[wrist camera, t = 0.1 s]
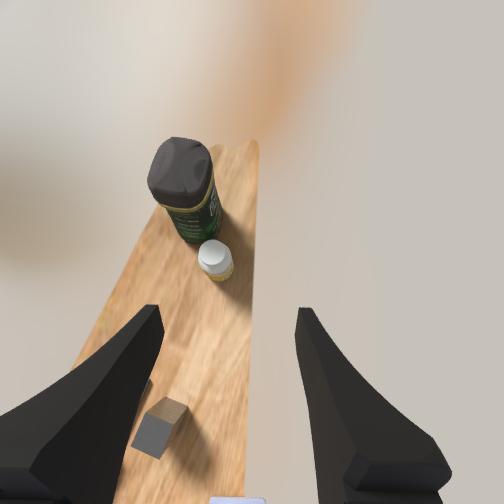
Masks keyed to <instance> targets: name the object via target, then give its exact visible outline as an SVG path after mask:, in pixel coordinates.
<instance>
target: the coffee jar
mask: <svg viewBox="0 0 504 504" xmlns="http://www.w3.org/2000/svg"><path fill="white" fill-rule="evenodd" d="M147 182H148V186H149V189H150V191H151V193H152V195H153V197H154V199H155V200H156V201H157V202H158V203H159V204H160V205H161V206H163V207H164V208H166V210H167V212H168V214H169V215H170V217H171V219H172V221H173V223H174V225H175V227H176V229H177V231H178V233H179V235H180V236H181V238H182V239H184V240H185V241H188V242H191V243H196V244H203V243H204V242H206V241H208V240H214V239H215V238H216V236H217V233H218V231H219V228H220V224H221V220H222V207H221V203H220V200H219V197H218V194H217V190H216V186H215V181H214V171H213V164H212V161H211V156H210V153H209V151H208V150H207V148H206V147H205V146H204V145H203V144H201V143H200V142H199V141H195V140H192V139H187V138H180V137H171V138H170V139H168V140H166V141H165V142H164V143H163V144H162V145H161V146H160V147H159V149H158V150H157V153H156V155H155V157H154V159H153V162H152V165H151V168H150V171H149V174H148V178H147Z"/></svg>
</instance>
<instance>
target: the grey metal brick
mask: <svg viewBox="0 0 504 504" xmlns="http://www.w3.org/2000/svg"><path fill="white" fill-rule="evenodd" d="M187 408H188V406H186V405H184V404H181V403H179V402H177V401H174V400H172V399H170V398H168V397H164V398H163V399H161V400H160V401H159V402H158V403H157V404H155V405H154V406H153V407H152V408H150V409H149V410H148V411H147V412H146V413H145V415H144V417H143V419H142V422H141V424H140V426H139V428H138V431H137V433H136V435H135V438H134V440H133V442H132V444H131V447H133V448H135V449H138V450H140V451H142V452H144V453H146V454H148V455H151V456H153V457H155V458H157V459H160V458H161V457H162V455H163V454H164V452H165V451H166V449H167V448H168V446H169V445H170V443H171V442H172V441H173V439H174V438H175V436H176V435H177V433H178V430H179V428H180V425H181V423H182V420H183V418H184V415H185V413H186V410H187Z"/></svg>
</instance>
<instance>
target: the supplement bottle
mask: <svg viewBox="0 0 504 504" xmlns="http://www.w3.org/2000/svg"><path fill="white" fill-rule="evenodd" d="M198 262H199V265H200V267H201V268H202V269H203V271H204V272H205V273H206V275H207V276H208V277H209V278H210V279H212V280H214V281H224V280H226V279H228V278H229V277H230V276H231V275H232V273H233V270H234V264H233V260H232V255H231V252H230V250H229V248H228V247H227V246H226V245H225V244H223V243H221V242H220V241H217V240H208V241H206V242H204V243H203V244H202V245H201V247H200V249H199V255H198Z"/></svg>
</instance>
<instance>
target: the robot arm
mask: <svg viewBox="0 0 504 504" xmlns="http://www.w3.org/2000/svg"><path fill="white" fill-rule="evenodd" d="M164 333H165V332H164V327H163V323H162V319H161V315H160V311H159V307H158V305H145V306H144V307H143V308H142V309H141V310H140V311H139V312H138V313H137V314H136V315H135V316H134V317H133V318H132V319H131V320H130V321H129V322H128V323H127V324H126V325H125V326H124V327H123V328H122V329H121V330H120V331H119V332H118V333H116V334H115V335H114V336H113V337H112V338H111V339H110V340H109V341H108V342H107V343H106V344H104V345H103V346H102V347H101V348H100V349H99V350H98V351H97V352H95V353H94V354H93V355H92V356H91V357H89V358H88V359H87V360H86V361H84V362H83V363H82V364H80V365H79V366H78V367H77V368H75V369H74V370H73V371H71V372H70V373H68V374H67V375H65V376H64V377H63V378H61V379H60V380H58V381H57V382H55V383H54V384H53V385H51V386H50V387H48V388H47V389H45V390H43V391H42V392H40V393H39V394H37V395H36V396H34V397H32V398H31V399H29V400H28V401H26V402H24V403H22V404H21V405H19V406H17V407H16V408H14V409H12V410H11V411H9V412H7V413H5V414H3V415H2V416H0V504H112V503H113V499H114V494H115V490H116V486H117V481H118V477H119V473H120V469H121V465H122V461H123V458H124V454H125V450H126V446H127V443H128V439H129V435H130V432H131V428H132V425H133V422H134V418H135V415H136V412H137V408H138V405H139V402H140V399H141V397H142V394H143V392H144V389H145V387H146V384H147V382H148V379H149V377H150V374H151V372H152V369H153V367H154V364H155V362H156V359H157V357H158V354H159V352H160V348H161V345H162V341H163V337H164ZM295 343H296V352H297V357H298V362H299V367H300V371H301V376H302V380H303V385H304V390H305V394H306V399H307V404H308V410H309V418H310V425H311V434H312V441H313V450H314V459H315V469H316V478H317V489H318V499H319V504H443V502H442V500H441V498H440V496H439V493H438V490H439V489H440V488H441V487H443V486H444V485H445V484H446V483H447V482H448V481H449V480H450V478H451V476H452V471H451V469H450V467H449V465H448V463H447V461H446V459H445V457H444V456H443V454H442V452H441V450H440V449H439V447H438V446H437V444H436V443H435V441H434V439H433V438H432V437H431V436H430V435H428V434H427V433H426V432H424V431H423V430H422V429H420V428H419V427H418V426H417V425H415V424H414V423H413V422H411V421H410V420H409V419H408V418H406V417H405V416H404V415H403V414H402V413H400V412H399V411H398V410H397V409H396V408H395V407H393V406H392V405H391V404H390V403H389V402H388V401H387V400H386V399H385V398H384V397H383V396H382V395H381V394H379V393H378V392H377V391H376V390H375V389H374V388H373V387H372V386H371V385H370V384H369V383H368V382H367V381H366V380H365V379H364V378H363V377H362V376H361V374H360V373H359V372H358V371H357V370H356V369H355V368H354V367H353V366H352V364H351V363H350V362H349V361H348V360H347V359H346V357H345V356H344V355H343V353H342V352H341V351H340V350H339V348H338V347H337V346H336V345H335V343H334V342H333V341H332V339H331V338H330V336H329V335H328V333H327V332H326V331H325V329H324V328H323V326H322V324H321V323H320V321H319V319H318V318H317V316H316V314H315V313H314V311H313V309H312V308H299V310H298V318H297V323H296V330H295ZM210 504H266V503H265V500H264V499H263V498H249V497H217V496H213V497H211V499H210Z"/></svg>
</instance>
